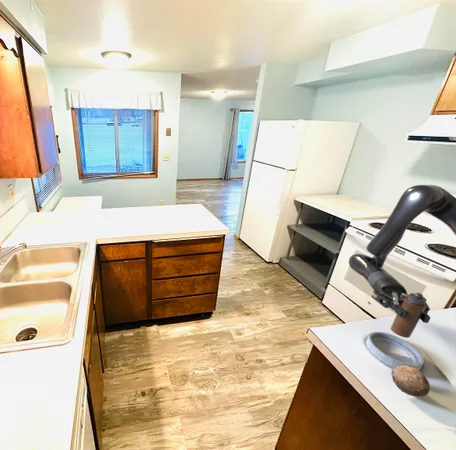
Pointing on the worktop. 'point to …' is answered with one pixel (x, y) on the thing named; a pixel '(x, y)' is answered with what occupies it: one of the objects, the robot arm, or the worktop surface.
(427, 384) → the brown oval lump
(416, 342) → the worktop surface
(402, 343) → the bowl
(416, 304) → the pepper mill
